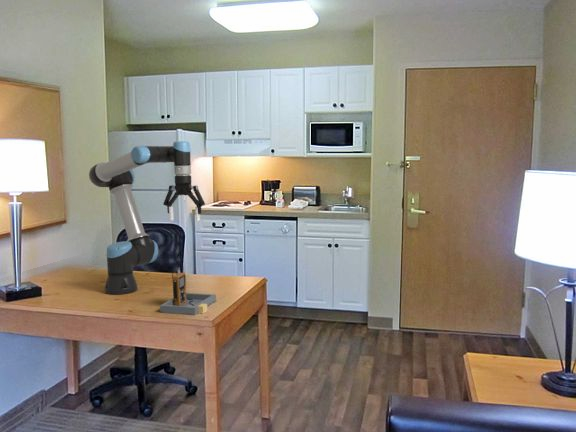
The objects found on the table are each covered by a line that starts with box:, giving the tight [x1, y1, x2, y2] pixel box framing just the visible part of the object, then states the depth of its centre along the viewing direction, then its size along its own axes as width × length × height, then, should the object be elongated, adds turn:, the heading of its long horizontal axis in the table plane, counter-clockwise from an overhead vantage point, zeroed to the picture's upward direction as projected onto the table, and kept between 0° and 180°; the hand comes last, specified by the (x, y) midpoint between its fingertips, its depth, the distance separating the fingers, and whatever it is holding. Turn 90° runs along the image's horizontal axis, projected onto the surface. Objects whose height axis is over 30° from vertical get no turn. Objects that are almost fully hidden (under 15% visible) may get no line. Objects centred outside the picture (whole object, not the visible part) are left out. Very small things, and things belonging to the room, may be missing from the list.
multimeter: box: [171, 257, 195, 306], centre depth 222 cm, size 15×10×20 cm
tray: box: [159, 292, 217, 316], centre depth 220 cm, size 18×21×3 cm
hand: (184, 220), depth 239 cm, fingers open, 13 cm apart
